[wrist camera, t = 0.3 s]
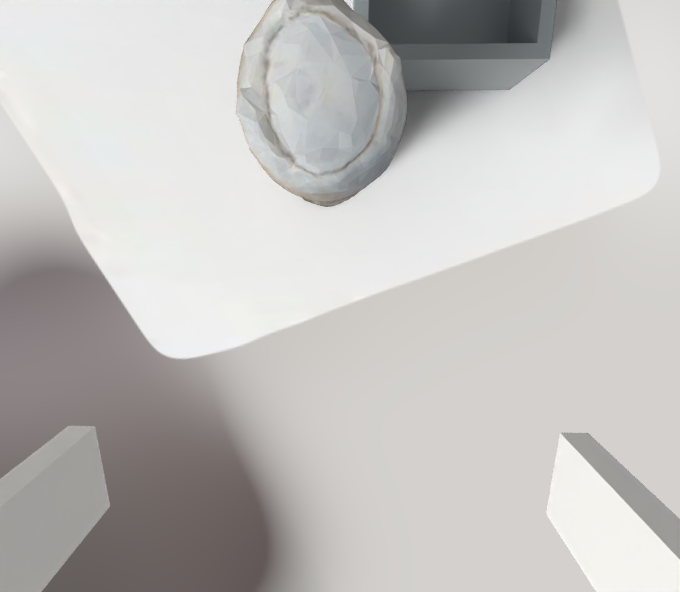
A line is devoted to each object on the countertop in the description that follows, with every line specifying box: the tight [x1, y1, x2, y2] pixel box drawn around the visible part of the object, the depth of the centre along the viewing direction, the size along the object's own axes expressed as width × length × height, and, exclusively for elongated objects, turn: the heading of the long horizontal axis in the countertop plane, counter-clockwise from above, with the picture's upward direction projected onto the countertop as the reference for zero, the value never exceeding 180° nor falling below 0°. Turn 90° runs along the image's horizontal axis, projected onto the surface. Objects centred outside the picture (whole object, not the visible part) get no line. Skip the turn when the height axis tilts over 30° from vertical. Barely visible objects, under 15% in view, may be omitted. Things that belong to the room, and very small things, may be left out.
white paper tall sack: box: [236, 0, 407, 207], centre depth 24 cm, size 8×8×20 cm
